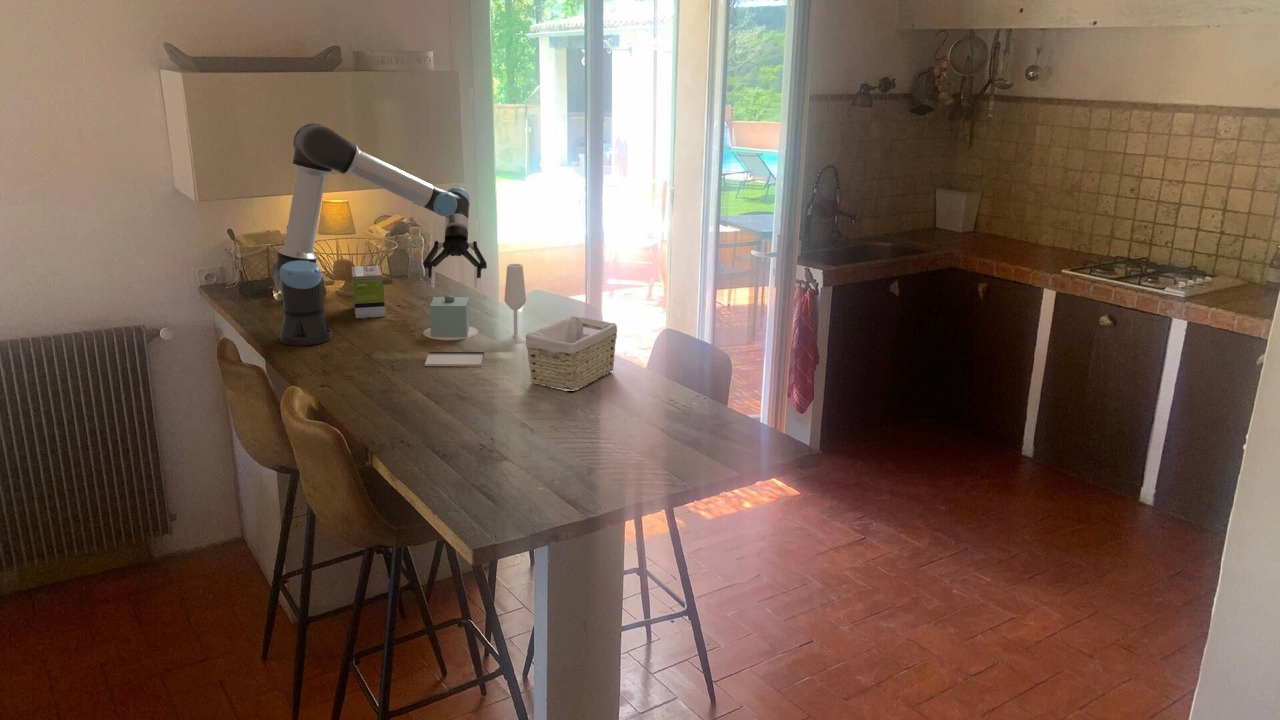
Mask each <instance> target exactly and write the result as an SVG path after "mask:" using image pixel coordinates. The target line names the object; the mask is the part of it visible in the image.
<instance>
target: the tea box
mask: <svg viewBox="0 0 1280 720" xmlns="http://www.w3.org/2000/svg"><path fill="white" fill-rule="evenodd" d="M350 268H351V282H352V296H353V306H354V314H355V318H356V319H368V318H367V317H370V318H382V317H383V318H384V317H386V305H385V304H386V302H385V289H384V278H383V277H384V275H383V272H382V269H381V265H364V266H363V265H362V266H351V267H350Z"/></svg>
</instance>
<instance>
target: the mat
mask: <svg viewBox="0 0 1280 720" xmlns="http://www.w3.org/2000/svg"><path fill="white" fill-rule="evenodd" d="M484 355H485V351H429V352H428V354H427V357H426V359H425V363H424V367H425V366H470V368H473V367H474V366H476V367H480V366H481V367H482V365H483V361H484V360H483V359H484ZM472 366H473V367H472Z"/></svg>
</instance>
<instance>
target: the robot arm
mask: <svg viewBox="0 0 1280 720" xmlns="http://www.w3.org/2000/svg"><path fill="white" fill-rule="evenodd" d="M293 136H294V137H293V141H292V142H293V149H294V152H293V153H294V154H293V157H292V159H293V161H292V165H293V167H294V168H295V170H296V173H295V181H294V185H293V186H294V187H293V193H292V197H291V204H290V209H289V215H288V222H287V228H286V234H285V239H284V240H285V241H284V245H283V246H282V247H281V248H279V249H278V251H277V256H276V257H277V258H276V261H275V263H274V264H273V267H272V269H271V278H272V282H273V284H274V285H275V287H276V288H277V290H279V292H280V293H281V296H282V298H281V299H282V307H283V318H282V322H281V328H280V331H279V341H280V342H281V343H282V344H285V345H289V346H296V347H297V346H298V347H299V346H313V345H319V344H323V343H326V342H329V341H330V340H331V339H332V337H333V334H332V328H331V327H330V325H329V322H328V319H327V317H326V315H325V310H324V309H325V308H324V295H323V283H322V282H323V281H322V279H323V275H322V271H321V270H322V269H321V268H320V266H319V265H318V263H317V260H318V257H317V256H316V254H315V252H314V247H315V246H314V245H315V242H316V235H317V230H318V224H319V218H320V211H321V207H322V199H323V196H324V195H323V194H324V189H325V183H326V177H327V176H329V175H330V174H332V173H333V171H336V172H339V173H341V174H343V175H346V174H351V175H353V176H355V177H357V178H359V179H362V180H364V181H366V182H369V183H371V184H372V185H375V186H377V187H379V188H380V189H383V190H385V191H387V192H390V193H392V194H394V195H396V196H399V197H401V198H403V199H405V200H407V201H409V202H411V203H412V204H414V205H417V206H419V207H422V208H424V209H426V210H428V211H430V212H433V213H435V214H437V215H438V216H439V217H445V223H444V224H445V227H444V241H443V242H439V241H438V240H435V241H434V242H433V247H432V248H431V250H430V252H429V253H428V254H427V256H426V257H425V259H424V260H423V263H422V265H423V269H428V272H427V274H428V278H430V279H431V280H430V284H431V285H430V286H431V289H435V283H436V281H435V280H436V279H435V278H436V267H437V266H438V265H440V264H441V262H443V260H445V259H446V258H448V257H449V256H450V257H456V256H457V257H461V256H463V258H465V259H466V260H467V261H469V263H471V264H472V265H473V267H474V279H473V285H474V289H478V279H480V278H481V276H482V270H483V269H484V270H486V269H487V267H488V266H487V262H486V260H485V258H484V256H483V255H482V253H481V251H480V249H479V248H478V242H477V241H475V240H473V242H468V240H469V232H468V231H469V216H470V215H469V212H470V197H469V192H468V191H467V190H465V189H464V188H462V187H458V188H457V187H452V188H450V189H447V190H448V191H447V190H444V189H442V188H439V187H437V186H435V185H433V184H431V183H428V182H426V181H425V180H422V179H420V178H418V177H416V176H414V175H412V174H410V173H408V172H406V171H404V170H401V169H399V168H398V167H396V166H393V165H392V164H389V163H387V162H385V161H383V160H381V159H379V158H378V157H375V156H372V155H370V154H369V153H367V152H364V151H362V150H360V148H359V146H358V145H357V144H355V143H354V142H351V141H349V140H348V139H346V138H345V137H344V136H342V135H340V134H339V133H338V132H336V131H335V130H333V129H331V128H329V127H328V126H325V125H323V124H320V123H315V122H313V123H308V124H305V125H302V126H301V127H299V128H298V129H297V130H296V132H295V134H294V135H293ZM441 248H443V249H441ZM468 249H471V250H472V251H473V252H474V254H475V256H476V257H477V259H478V260H477V259H476V258H475V257H474V256H473V255H472V254H471V253H470V252H469V250H468ZM439 250H441V252H440V253H439ZM437 254H438V255H437ZM436 255H437V256H436Z"/></svg>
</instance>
